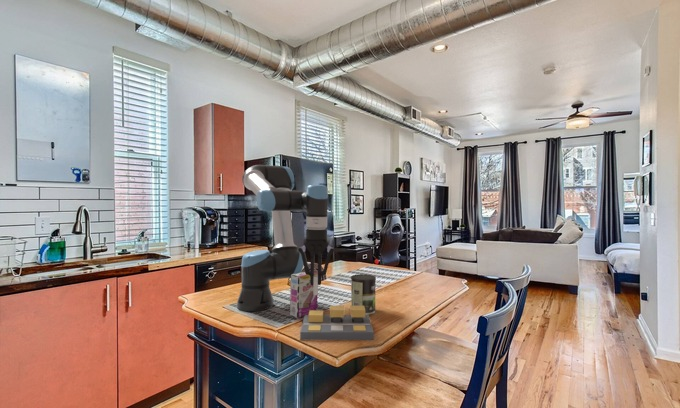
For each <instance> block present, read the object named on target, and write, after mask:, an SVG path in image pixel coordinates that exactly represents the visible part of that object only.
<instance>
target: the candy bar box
mask: <svg viewBox="0 0 680 408" xmlns="http://www.w3.org/2000/svg"><path fill="white" fill-rule="evenodd" d="M314 275H318V271H314ZM289 291H290V293H289V294H290V295H289V297H290V298H289V300H290V301H289V303H290V304H289V317H292V318H294V319H300V318H304V316H305V315H309V311H310V310H318V296H319V295H313V285H311V284H310V275H307V274H306V273H305V271H302V272H301V273H297V274H292V275H291V278H290V290H289Z"/></svg>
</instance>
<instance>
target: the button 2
mask: <svg viewBox="0 0 680 408" xmlns="http://www.w3.org/2000/svg"><path fill="white" fill-rule="evenodd" d="M329 315H330V317H333V322H341V317H344V315H345V305H330V306H329Z"/></svg>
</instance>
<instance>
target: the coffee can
mask: <svg viewBox="0 0 680 408" xmlns="http://www.w3.org/2000/svg"><path fill="white" fill-rule="evenodd" d="M376 279H377V276H375V275H371V274H365V273H363V274H353V275H352V276H350V284H351V286H350V287H351V289H350V294H351V295H350V298H351V299H350V301H351V302H350V303H351V305H350V307H351V306H364V307H365V315H369V316H370V315H373V314H375V313H376Z"/></svg>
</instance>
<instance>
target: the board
mask: <svg viewBox="0 0 680 408" xmlns="http://www.w3.org/2000/svg"><path fill="white" fill-rule="evenodd" d="M374 332H375V330H374V328H373V325H372V322H371V319H370V315H365V317H362V322H354V321H353V317H351V314H344V317H341V322H333V317H330V314H323V322H308V315H305V316H304V317H303V320H302V324H301V328H300V333H299V338H300V339H299V340H300V341H374V339H375V337H374V336H375V333H374Z"/></svg>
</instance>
